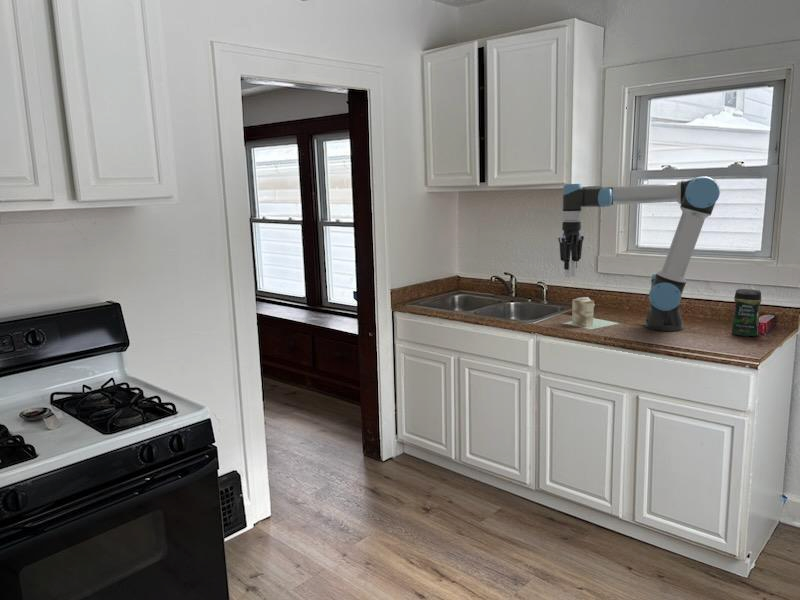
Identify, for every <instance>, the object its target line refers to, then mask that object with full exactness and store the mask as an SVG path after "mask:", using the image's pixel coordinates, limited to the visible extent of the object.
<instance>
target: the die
mask: <svg viewBox="0 0 800 600" xmlns="http://www.w3.org/2000/svg"><path fill="white" fill-rule="evenodd" d="M579 298H580V299H586V300H591V298H590V297H589V296H586V297H584V296H583V297H577V298H576V299H579ZM595 306H596V305H595V303H594V307H595Z"/></svg>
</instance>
